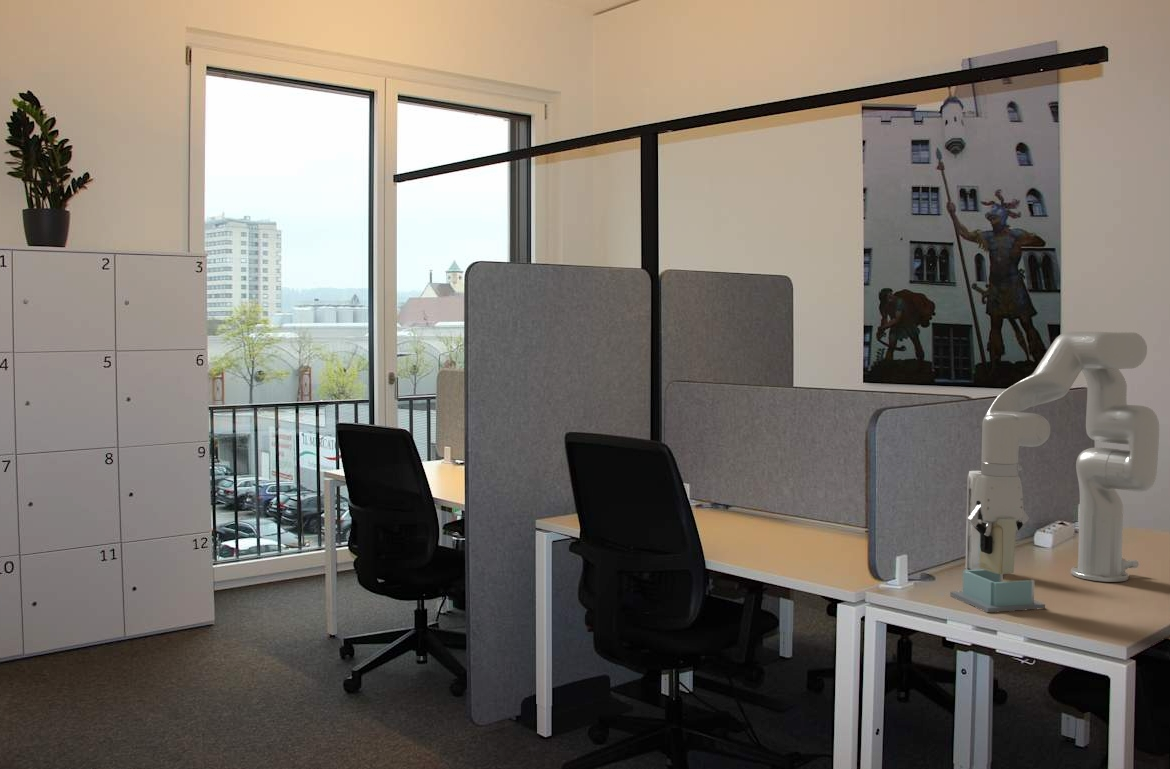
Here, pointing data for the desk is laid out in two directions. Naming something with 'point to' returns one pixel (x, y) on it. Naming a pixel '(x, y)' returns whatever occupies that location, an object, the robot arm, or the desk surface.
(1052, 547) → the desk surface
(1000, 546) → the skincare box
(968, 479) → the tall white box
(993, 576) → the holder
